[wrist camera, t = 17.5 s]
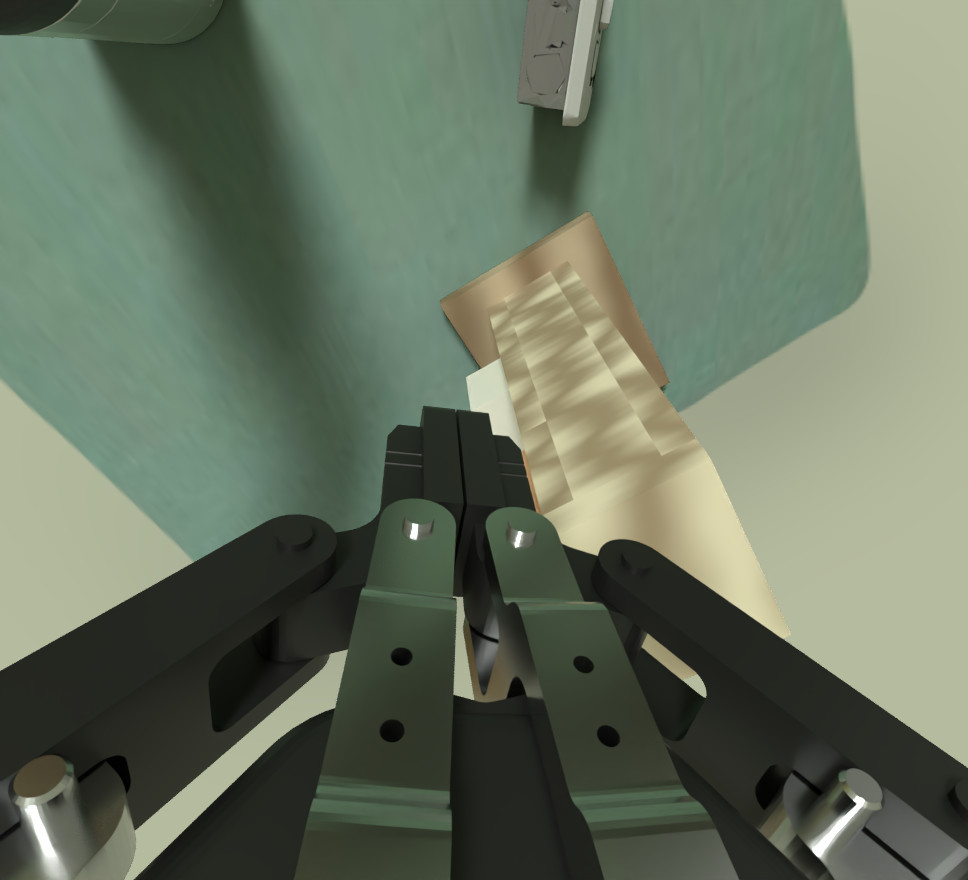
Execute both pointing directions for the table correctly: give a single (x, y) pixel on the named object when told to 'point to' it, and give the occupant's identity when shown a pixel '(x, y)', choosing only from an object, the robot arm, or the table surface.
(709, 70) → the table surface
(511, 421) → the lower knob
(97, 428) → the table surface
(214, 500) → the table surface
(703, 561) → the knob post
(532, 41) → the electrical switch
